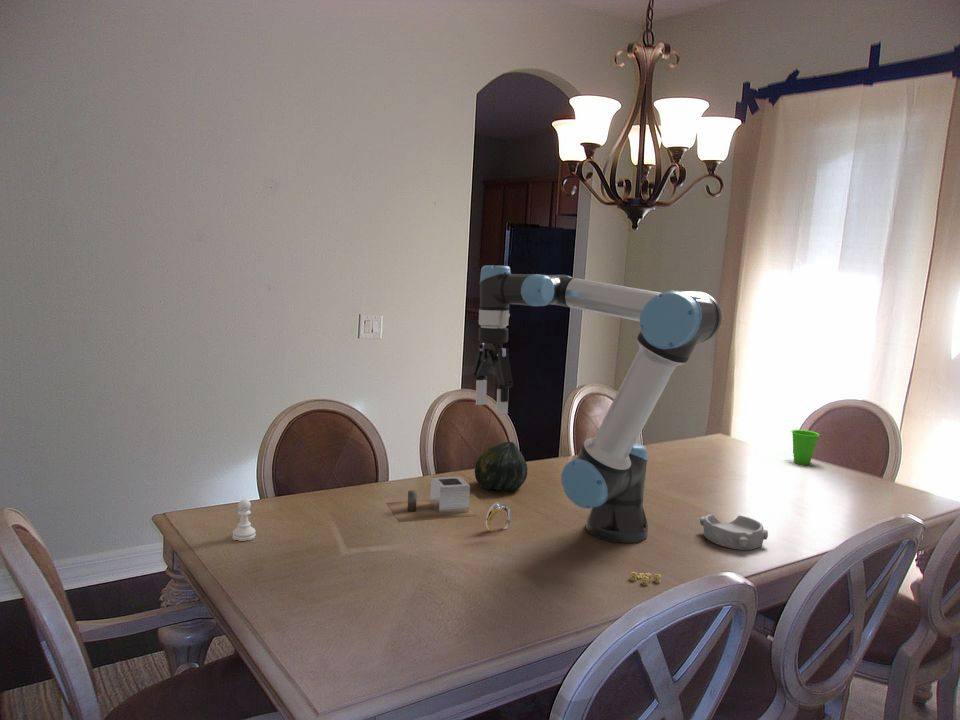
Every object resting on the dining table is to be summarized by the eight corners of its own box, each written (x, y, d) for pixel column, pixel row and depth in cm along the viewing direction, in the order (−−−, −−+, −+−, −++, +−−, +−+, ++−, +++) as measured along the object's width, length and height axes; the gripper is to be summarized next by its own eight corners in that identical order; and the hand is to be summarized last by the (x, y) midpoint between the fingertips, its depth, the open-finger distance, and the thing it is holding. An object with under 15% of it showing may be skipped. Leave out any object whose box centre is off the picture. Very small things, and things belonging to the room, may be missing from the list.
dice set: (661, 584, 154) (662, 575, 154) (646, 590, 151) (647, 581, 151) (642, 575, 158) (643, 567, 158) (627, 581, 155) (628, 572, 155)
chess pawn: (260, 537, 167) (260, 499, 165) (243, 543, 162) (243, 505, 161) (245, 531, 169) (245, 494, 168) (227, 538, 165) (227, 500, 163)
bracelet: (489, 538, 173) (490, 506, 171) (482, 534, 175) (483, 502, 174) (513, 534, 176) (515, 502, 175) (506, 529, 179) (508, 498, 178)
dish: (691, 533, 184) (693, 514, 183) (736, 528, 189) (737, 510, 188) (730, 556, 171) (732, 535, 170) (776, 550, 175) (778, 530, 175)
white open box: (468, 511, 187) (470, 485, 186) (439, 514, 184) (440, 487, 183) (458, 501, 194) (460, 476, 193) (430, 503, 191) (431, 478, 190)
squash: (463, 462, 216) (482, 433, 206) (507, 460, 223) (527, 432, 213) (477, 504, 208) (497, 477, 197) (521, 501, 214) (543, 474, 204)
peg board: (476, 520, 184) (477, 496, 183) (399, 526, 177) (400, 502, 176) (458, 501, 197) (459, 479, 196) (386, 507, 190) (387, 484, 189)
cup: (817, 462, 258) (821, 432, 257) (813, 468, 251) (817, 437, 249) (790, 457, 263) (793, 428, 261) (786, 463, 255) (789, 432, 254)
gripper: (528, 330, 174) (525, 418, 176) (487, 322, 197) (485, 400, 199) (500, 331, 171) (497, 419, 174) (462, 323, 194) (460, 401, 196)
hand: (491, 409), depth 186 cm, fingers open, 13 cm apart
